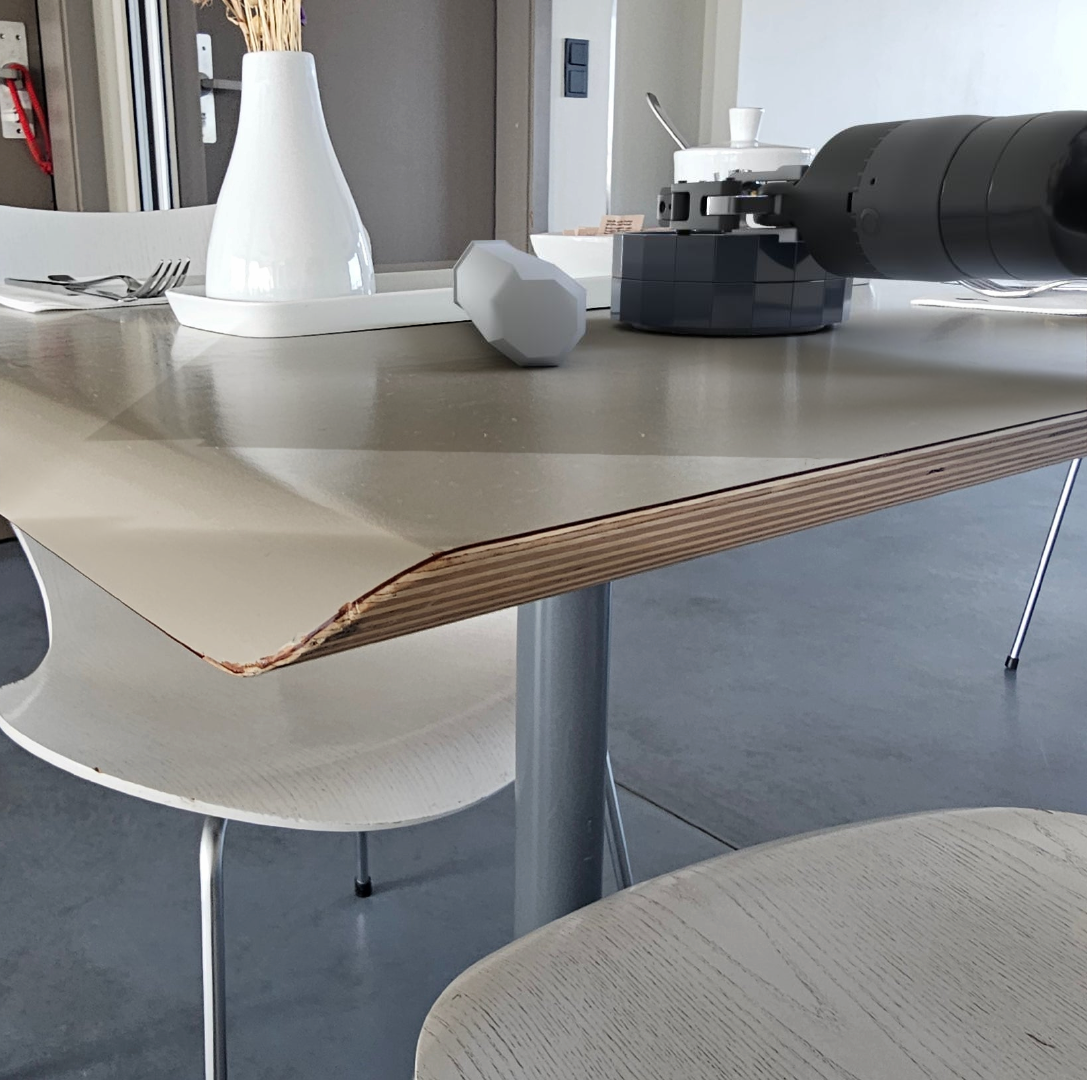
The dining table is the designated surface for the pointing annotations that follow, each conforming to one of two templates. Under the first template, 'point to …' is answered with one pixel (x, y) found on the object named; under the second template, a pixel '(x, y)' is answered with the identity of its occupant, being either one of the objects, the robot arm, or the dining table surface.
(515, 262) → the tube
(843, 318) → the bowl
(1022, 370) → the dining table surface
